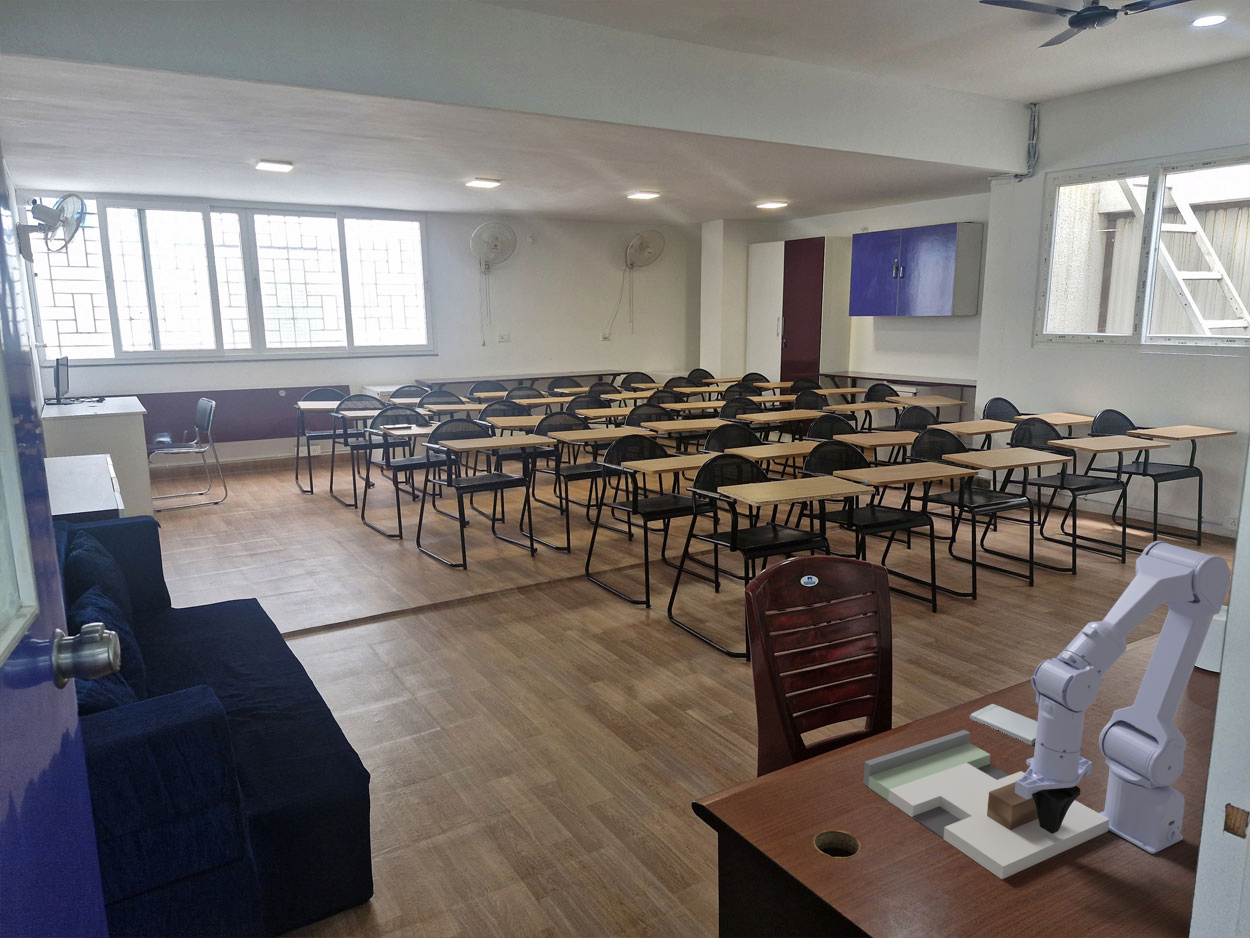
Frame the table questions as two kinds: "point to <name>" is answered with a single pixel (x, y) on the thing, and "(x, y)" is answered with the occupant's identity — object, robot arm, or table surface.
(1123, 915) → the table surface
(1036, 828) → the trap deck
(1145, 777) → the robot arm
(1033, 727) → the hard drive
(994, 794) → the walnut bar
